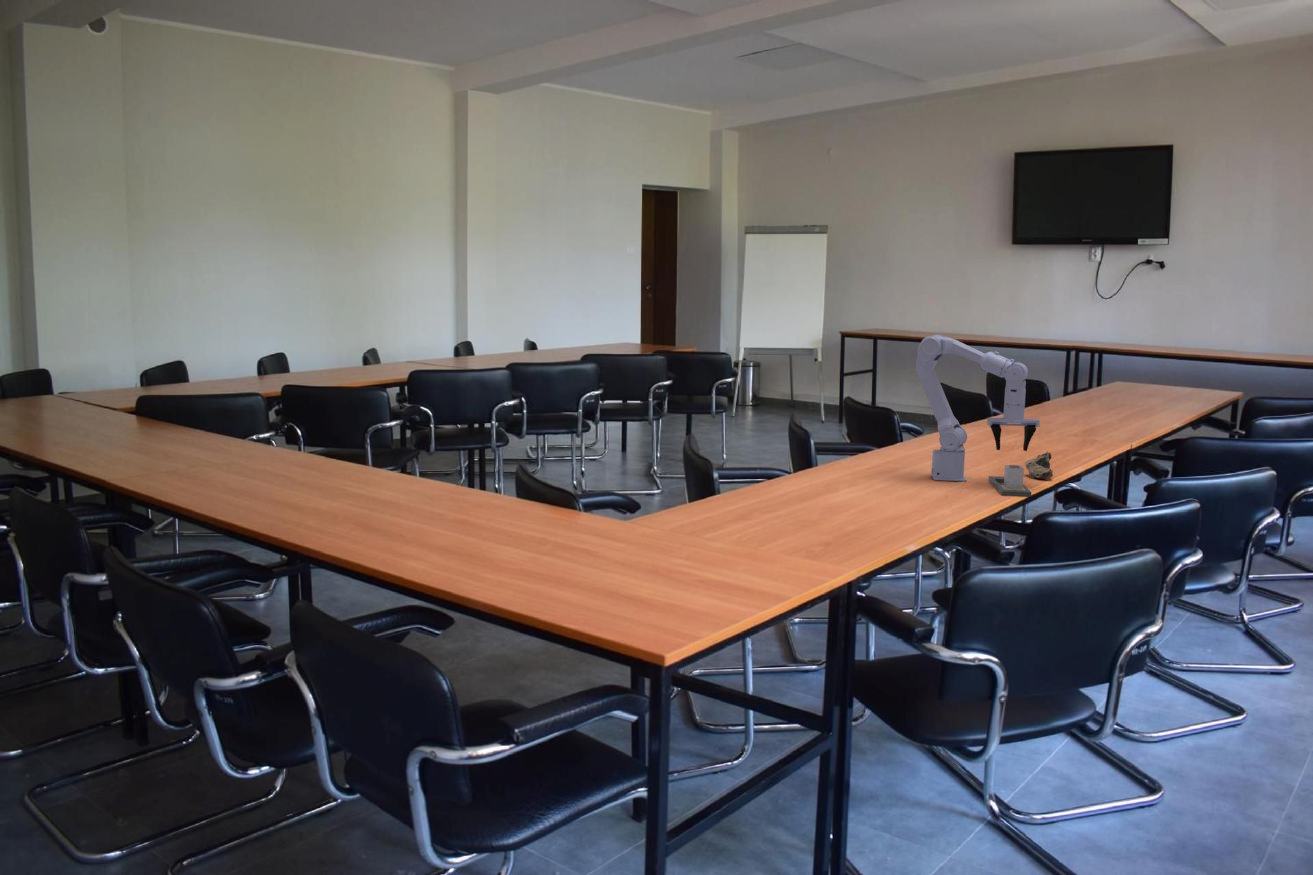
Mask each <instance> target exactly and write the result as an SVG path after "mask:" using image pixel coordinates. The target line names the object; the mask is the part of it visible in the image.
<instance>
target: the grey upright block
mask: <svg viewBox="0 0 1313 875" xmlns="http://www.w3.org/2000/svg"><path fill="white" fill-rule="evenodd" d="M1024 474H1025V469H1024V467H1023V466H1022V465H1019V464H1009V465H1007V464H1006V465H1004V475H1003V477H1004V483H1003V484H1004V487H1005V488H1006V489H1021V490H1023V484H1024Z"/></svg>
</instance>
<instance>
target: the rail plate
mask: <svg viewBox="0 0 1313 875" xmlns="http://www.w3.org/2000/svg"><path fill="white" fill-rule="evenodd" d="M988 481H989V482H990V484H991V485H992V486H993V487H994V488H995V490H996V491H997V492H998V493H999V494H1000V495H1001V496H1002V497H1005V496H1006V497H1007V496H1009V497H1030V498H1031V497H1032V492H1031V490H1030V489H1029V488H1027V486H1026V485H1025V484H1024V483H1023V490H1021V489H1006V488H1005V487H1004V476H993V475H990V476H988Z"/></svg>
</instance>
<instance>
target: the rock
mask: <svg viewBox="0 0 1313 875" xmlns="http://www.w3.org/2000/svg"><path fill="white" fill-rule="evenodd" d="M1051 460H1052V454H1051V452H1049V451H1046V452H1045V453H1043V454H1042V453H1041V454H1038V455H1037V456H1036V457H1035V458H1032V459H1029V460H1027V461H1025V467H1026V469H1027V470H1028V475H1029V477H1030V478H1031V479H1035V478H1037V479H1040V480H1044V481H1049V480H1050V479H1051V478H1052V477H1054V475H1053V469H1051V464H1050V461H1051Z"/></svg>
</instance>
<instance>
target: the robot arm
mask: <svg viewBox="0 0 1313 875" xmlns="http://www.w3.org/2000/svg"><path fill="white" fill-rule="evenodd" d="M916 349H917V355H916V356H917V357H916V362H915V371H916V373H917V376H918V378H919V380H920V383H921V385H922V388H923V390H924V392H925V395H926V398H927V400H928V402H929V404H930V407H931V410H932V412H933V415H934V416H935V419H936V422H937V432H938V433H939V445H940V447H939V449H933V451H932V457H931V458H932V462H931V471H930V472H931V474H930V475H931V478H932V479H933V480H934V481H946V482H947V481H951V482H967V478H966V477H965V476H964V475H965V459H966V447H965V446H964V444H965V443H966V442H967V439H968V434H967V431H966V430H965V429H964V428H963V427H962V425H961V424H960V423H959V420H958V419H957V418H956V417H955V416H954V413H953V411H952V409H951V406H950V403H949V401H948V399H947V396H946V394H945V391H944V389H943V387H942V384H941V382H940V380H939V377H938V374H937V372H936V370H935V367H936V366H937V364H938V361H939V359H940V358H941V357H943V355H950V354H951V355H952V354H955V355H957V356H961V357H962V358H965V359H967V360H971V361H973V362H975V363H978V364H979V365H980V367H981V370H983V371H986V372H988V373H990V374H992V375H994V376H996V377H999V378H1003V379H1004V380H1005V388H1004V401H1003V402H1004V403H1003V416H1002V417H987V420H986V425H987V426H989V427H990V429H991V432H992V434H993V437H994V441H995V448H996V450H997V451H1000V450H1001V436H1002V427H1001V426H1011V427H1013V426H1014V427H1015V426H1016V427H1018V426H1019V427H1020V426H1021V427H1023V429H1024V430H1023V432H1024V438H1023V445H1022V446H1023V448H1022V449H1023V451H1024V452H1028V448H1029V445H1030V442H1031V439H1032V437H1033V436H1034V434H1035V433H1036V430H1037V428H1038V427H1040V426H1041V424H1040V423H1041V420H1040V419H1036V418H1035V419H1034V418H1025V409H1026V408H1025V406H1026V395H1027V394H1026V393H1027V392H1026V391H1027V389H1026V384H1027V381H1026V379H1027V378H1028V376H1029V369H1028V367H1027V366H1026V365H1025V364H1024V363H1022V362H1021V361H1016V362H1015V359H1014V358H1010V359H1009V358H1007V357H1005V356H1002V355H1000V352H998V351H988V352H985V353H984V352H983V351H980V350H978V349H976V348H974V347H972V346H969V345H967V344H965V343H963V342H961V341H959V340H958V339H954V338H952V337H949V336H945V335H942V334H933V335H928V336H926V337H924V338H923V339H922V340H921V342H920V343H919V345H918V347H917V348H916Z"/></svg>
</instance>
